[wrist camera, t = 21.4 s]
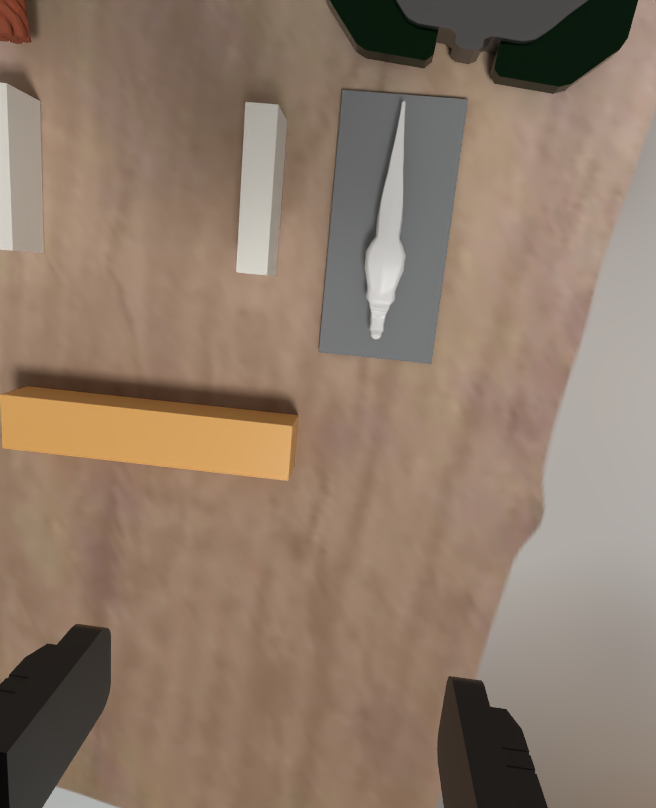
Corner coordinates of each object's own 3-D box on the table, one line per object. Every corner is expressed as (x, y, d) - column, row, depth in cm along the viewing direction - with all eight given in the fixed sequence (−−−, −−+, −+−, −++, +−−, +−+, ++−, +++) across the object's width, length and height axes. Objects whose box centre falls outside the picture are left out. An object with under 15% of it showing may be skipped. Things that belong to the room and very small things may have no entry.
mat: (319, 351, 39) (318, 352, 39) (342, 91, 35) (342, 89, 35) (430, 362, 39) (431, 363, 38) (466, 101, 35) (467, 99, 34)
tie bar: (31, 434, 43) (2, 448, 40) (30, 385, 42) (0, 394, 39) (295, 464, 42) (288, 480, 38) (299, 414, 41) (292, 426, 37)
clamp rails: (17, 250, 39) (-17, 247, 36) (12, 99, 37) (-25, 80, 34) (276, 275, 38) (267, 275, 35) (287, 121, 36) (278, 104, 33)
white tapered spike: (394, 339, 38) (395, 342, 36) (356, 335, 38) (355, 338, 37) (424, 106, 35) (427, 97, 33) (382, 103, 35) (383, 93, 33)
